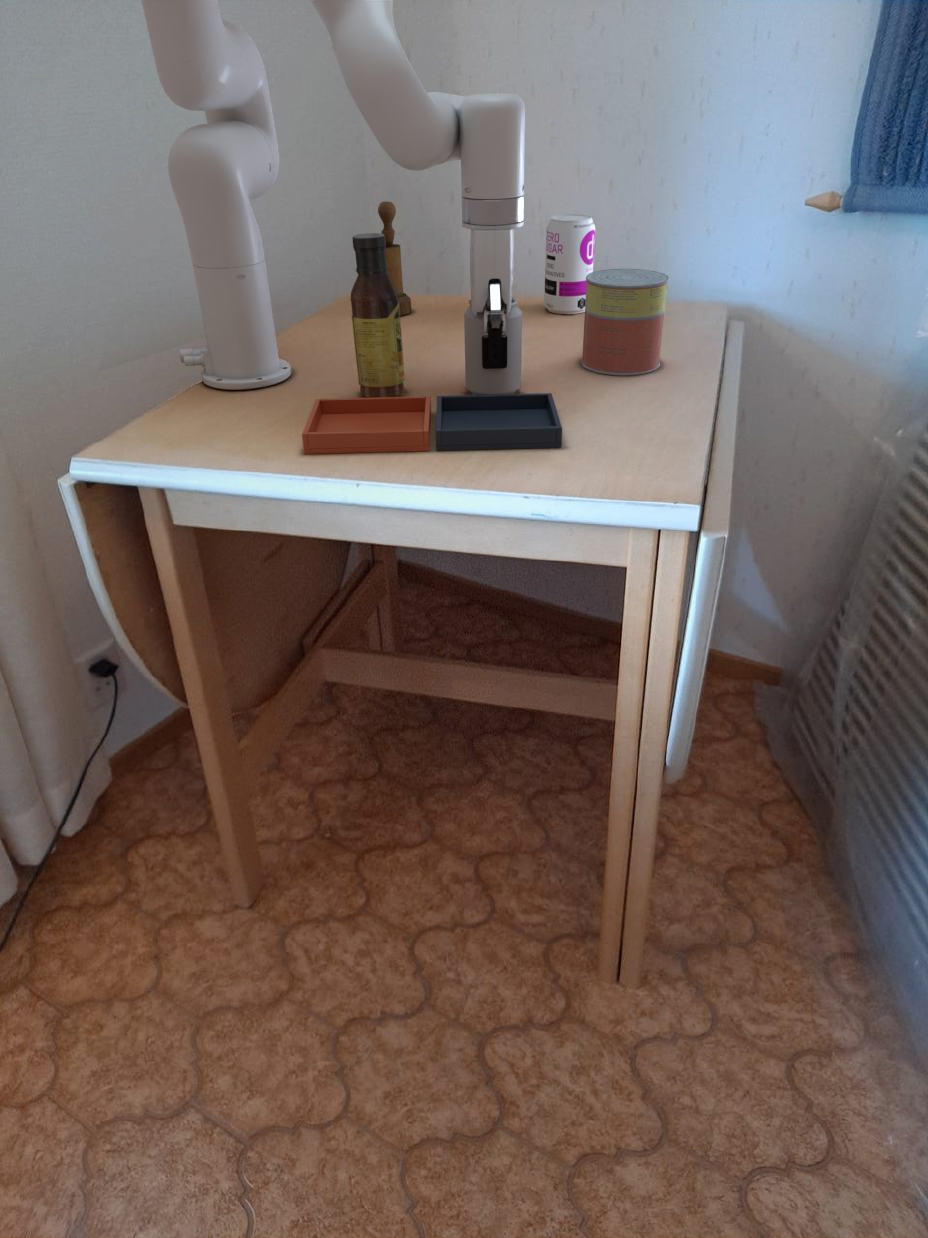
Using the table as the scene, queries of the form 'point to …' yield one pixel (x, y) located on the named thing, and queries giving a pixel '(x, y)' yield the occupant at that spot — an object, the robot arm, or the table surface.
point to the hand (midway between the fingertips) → (493, 357)
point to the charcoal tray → (497, 422)
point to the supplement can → (568, 262)
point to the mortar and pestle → (393, 255)
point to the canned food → (624, 321)
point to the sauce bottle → (376, 321)
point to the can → (475, 374)
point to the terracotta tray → (368, 425)
